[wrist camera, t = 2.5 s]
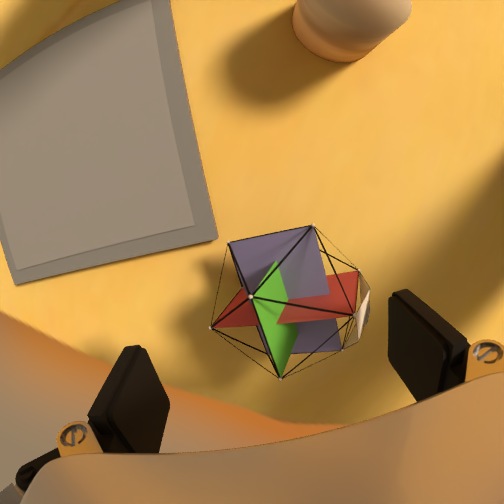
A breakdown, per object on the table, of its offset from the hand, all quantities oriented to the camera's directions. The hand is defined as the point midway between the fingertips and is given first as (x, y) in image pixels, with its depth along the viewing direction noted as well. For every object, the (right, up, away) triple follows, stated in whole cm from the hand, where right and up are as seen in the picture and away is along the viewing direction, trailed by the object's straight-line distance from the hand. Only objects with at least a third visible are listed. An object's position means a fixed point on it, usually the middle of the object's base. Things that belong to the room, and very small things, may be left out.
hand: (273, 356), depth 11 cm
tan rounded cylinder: (+4, +17, +3) cm, 17 cm away
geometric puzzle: (+1, +2, +7) cm, 8 cm away
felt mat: (-12, +11, +4) cm, 17 cm away
